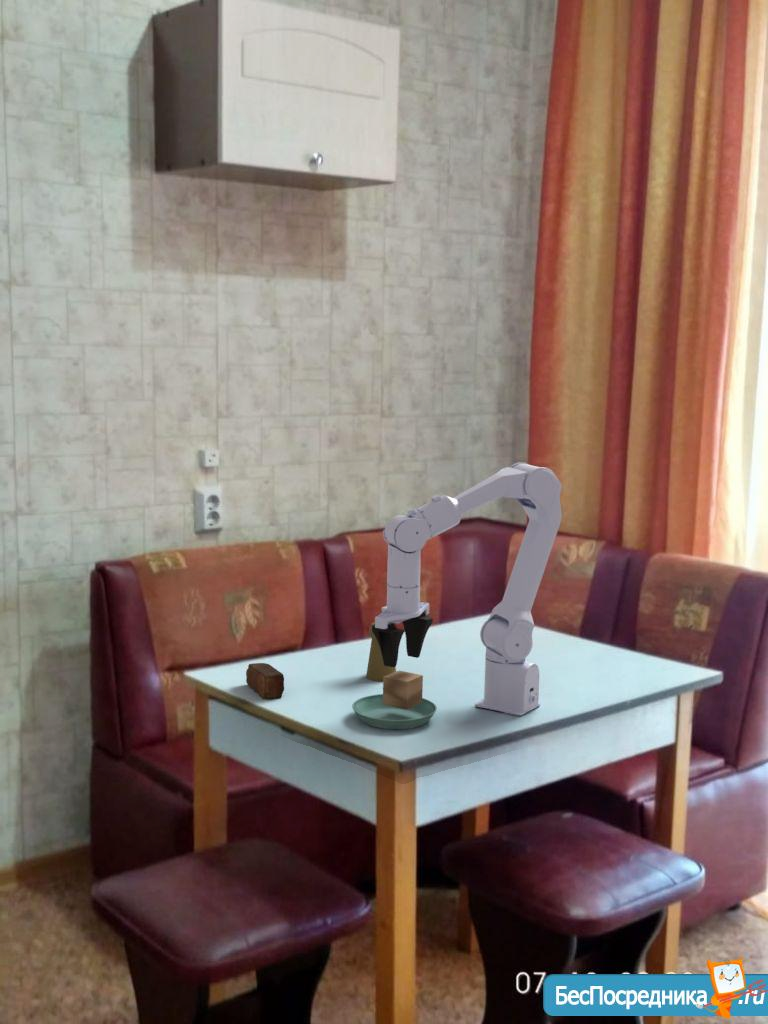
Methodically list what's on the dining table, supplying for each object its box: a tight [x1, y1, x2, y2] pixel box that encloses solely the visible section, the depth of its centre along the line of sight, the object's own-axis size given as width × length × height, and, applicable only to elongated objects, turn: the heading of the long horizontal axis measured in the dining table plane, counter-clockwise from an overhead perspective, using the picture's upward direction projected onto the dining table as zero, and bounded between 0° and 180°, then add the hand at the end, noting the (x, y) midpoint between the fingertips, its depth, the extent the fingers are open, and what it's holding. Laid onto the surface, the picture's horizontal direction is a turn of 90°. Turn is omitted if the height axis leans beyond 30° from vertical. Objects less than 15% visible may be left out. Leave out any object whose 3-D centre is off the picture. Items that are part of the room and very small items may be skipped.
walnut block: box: [382, 670, 424, 710], centre depth 207 cm, size 5×5×5 cm
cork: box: [365, 621, 397, 682], centre depth 231 cm, size 6×6×11 cm
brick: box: [245, 662, 285, 700], centre depth 221 cm, size 11×4×5 cm, turn 25°
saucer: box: [351, 693, 438, 730], centre depth 206 cm, size 15×15×3 cm
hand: (401, 661), depth 207 cm, fingers open, 7 cm apart
